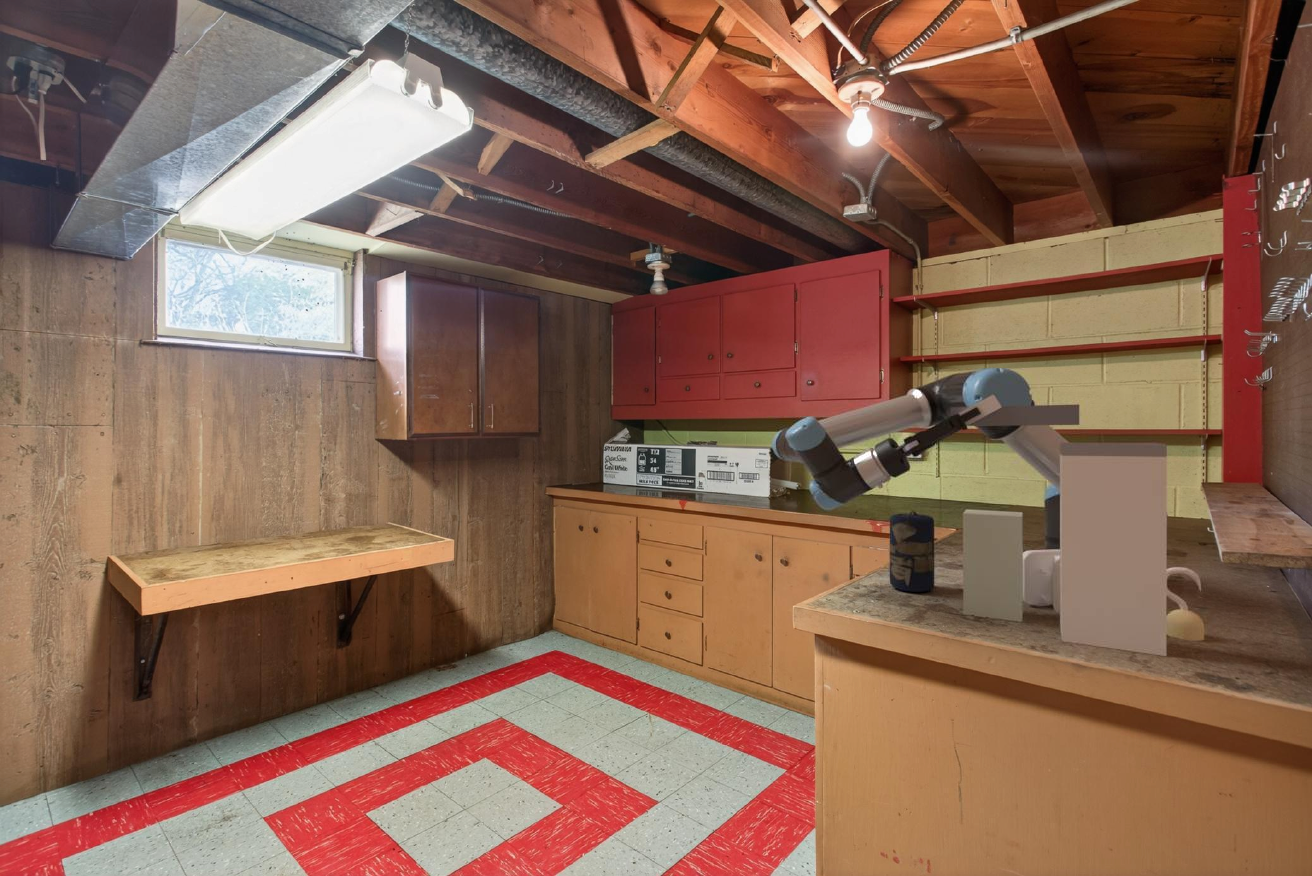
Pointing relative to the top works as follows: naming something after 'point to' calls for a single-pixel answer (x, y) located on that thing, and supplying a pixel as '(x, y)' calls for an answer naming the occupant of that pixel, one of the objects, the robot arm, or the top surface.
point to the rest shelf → (993, 564)
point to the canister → (912, 552)
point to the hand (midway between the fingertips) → (997, 401)
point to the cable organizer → (1042, 578)
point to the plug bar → (1027, 415)
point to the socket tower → (1114, 545)
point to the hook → (1183, 613)
